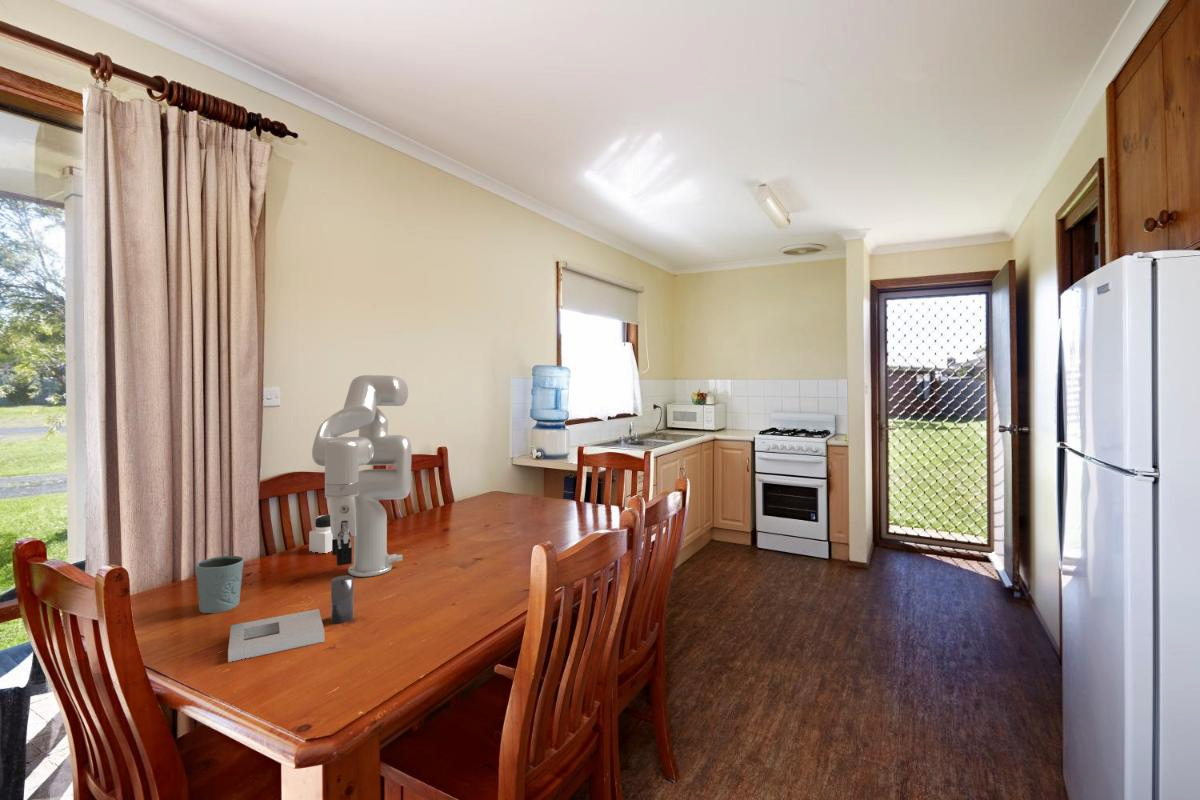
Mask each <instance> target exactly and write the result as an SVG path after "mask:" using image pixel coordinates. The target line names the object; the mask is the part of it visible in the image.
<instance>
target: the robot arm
mask: <svg viewBox="0 0 1200 800" xmlns="http://www.w3.org/2000/svg"><path fill="white" fill-rule="evenodd" d="M348 388H349V389H348V391H347V394H346V398H345V401H344V405H343V408H342V409H340V410H339V411H337V412H335V413H334V414H332V415H330V417H328V418H326V419H325V420H324V421H323V422H322V423H321V424H320V425H319V427H318V429H317V432H316V435H315V438H314V440H313V445H312V450H311V455H312V460H313V462H314V463H315V464H316V465H317V466H321V467H324V498H326V499H329V515H330V525H331V533H332V535H333V539H332V552H331V555H332V556H336V566H340V567H341V566H345V565H351V566H349V568H348V570H347V571H348V572H347V573H348V574H349V576H352V577H362V578H363V577H366V578H367V577H374V576H375V577H376V576H379V575H383V574H386V573H387V572H390V571H391V569H392V568H393V562H402V561H403V554H397V553H393V554H389V553H388V550H387V549H388V548H387V547H388V543H387V542H388V541H387V540H388V539H387V538H388V535H387V534H388V532H387V531H388V530H387V528H388V526H387V525H388V517H387V511H386V509H385V507H384V505H382V504H381V502H380V501H387V500H403V499H406V498H408V496H409V494H410V492H411V484H412V444H411V440H410V439H409V438H408V437H407V436H405V435H401V434H400V435H399V434H397V435H396V434H392V435H391V434H388V430H389V429H388V427H389V422H388V421H389V420H388V418H387V416H386V415H385V413H383V411H382V410H381V409H379V407H400V406H401V407H402V406H404V405H405V404H406V403H407V401H408V396H409V388H408V385H407V382H406V381H405V380H404V379H403V378H400V377H398V376H395V375H379V374H378V375H377V374H376V375H375V374H374V375H373V374H372V375H370V374H368V375H367V374H366V375H359V376H357V377H354V379H352V380H351V382H350V385H349V387H348ZM355 431H358V436H343V435H345V434H348V433H350V432H355ZM359 466H395V468H387V469H386V468H384V469H383V468H375V469H374V468H373V469H371V468H370V469H362V470H359V469H360V468H359ZM352 537H353V547H352V539H351V538H352ZM352 549H353V552H352ZM352 554H353V555H352ZM352 557H353V558H352ZM352 560H353V561H352ZM352 562H353V564H352Z"/></svg>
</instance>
